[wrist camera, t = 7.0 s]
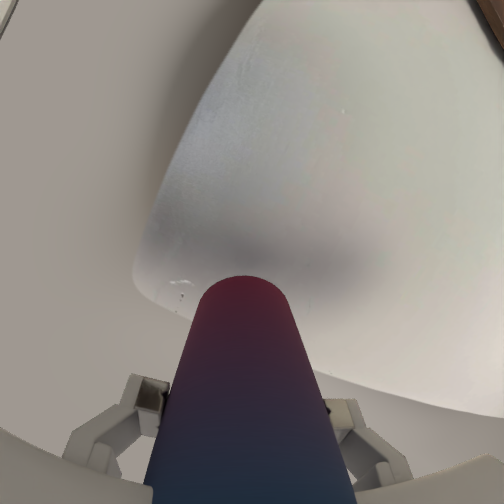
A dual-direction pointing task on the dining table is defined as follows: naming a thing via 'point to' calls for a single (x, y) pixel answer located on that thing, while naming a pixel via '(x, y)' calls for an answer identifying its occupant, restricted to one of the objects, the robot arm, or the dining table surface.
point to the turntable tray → (494, 16)
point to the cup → (246, 410)
